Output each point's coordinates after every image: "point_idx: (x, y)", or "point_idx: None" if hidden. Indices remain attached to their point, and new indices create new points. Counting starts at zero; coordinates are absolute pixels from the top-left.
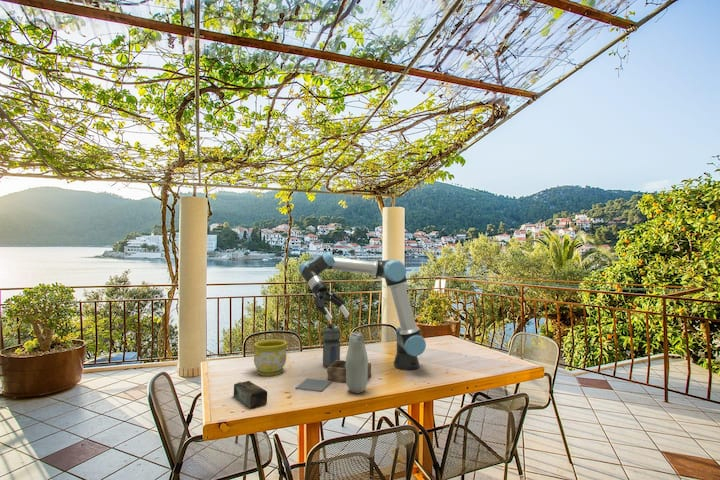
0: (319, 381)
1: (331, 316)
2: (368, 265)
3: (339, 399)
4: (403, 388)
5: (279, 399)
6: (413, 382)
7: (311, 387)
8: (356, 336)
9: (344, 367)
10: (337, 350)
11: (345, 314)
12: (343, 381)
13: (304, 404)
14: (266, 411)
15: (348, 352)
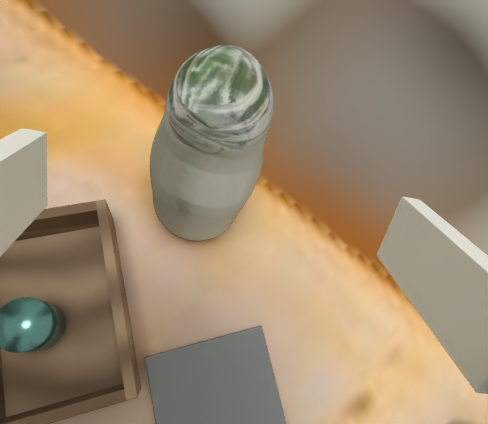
0: (178, 407)
1: (417, 205)
2: None
3: (281, 231)
4: (87, 84)
5: (395, 420)
6: (5, 67)
7: (256, 387)
8: (265, 73)
9: (43, 345)
10: None
11: (29, 197)
12: (127, 307)
13: (372, 309)
14: None
15: (257, 171)
